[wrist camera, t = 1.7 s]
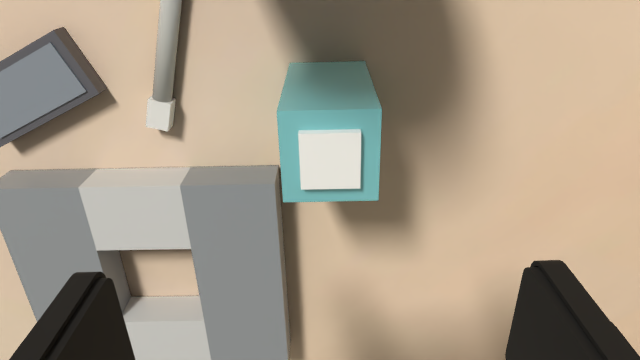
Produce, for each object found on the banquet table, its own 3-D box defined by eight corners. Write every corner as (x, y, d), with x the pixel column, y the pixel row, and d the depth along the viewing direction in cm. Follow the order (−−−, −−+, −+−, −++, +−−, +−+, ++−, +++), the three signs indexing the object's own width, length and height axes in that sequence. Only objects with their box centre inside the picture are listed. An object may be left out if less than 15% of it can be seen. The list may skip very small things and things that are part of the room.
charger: (364, 61, 25) (383, 112, 17) (363, 131, 27) (379, 205, 19) (290, 62, 25) (275, 114, 17) (293, 133, 27) (282, 207, 19)
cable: (169, -95, 22) (163, -97, 21) (195, -88, 22) (189, -89, 21) (151, 120, 26) (145, 126, 26) (173, 125, 27) (167, 131, 26)
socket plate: (278, 165, 28) (274, 184, 25) (290, 339, 34) (288, 366, 32) (10, 170, 28) (-16, 189, 26) (72, 342, 34) (55, 369, 32)
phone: (63, 26, 24) (52, 30, 23) (107, 88, 26) (98, 93, 25) (-37, 86, 26) (-52, 91, 25) (10, 140, 27) (-2, 148, 26)
